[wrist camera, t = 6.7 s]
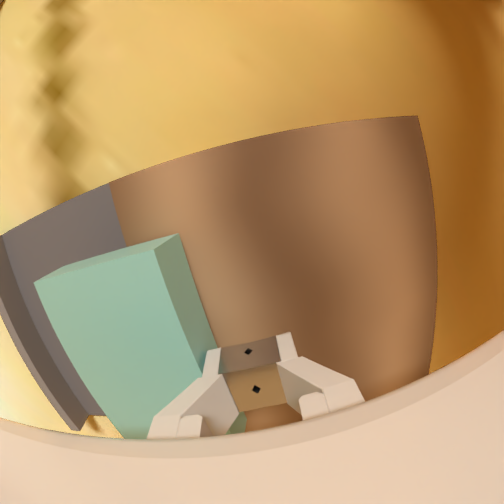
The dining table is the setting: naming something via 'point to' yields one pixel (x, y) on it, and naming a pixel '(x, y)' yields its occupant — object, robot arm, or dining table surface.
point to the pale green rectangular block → (132, 329)
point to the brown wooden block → (306, 245)
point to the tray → (27, 299)
